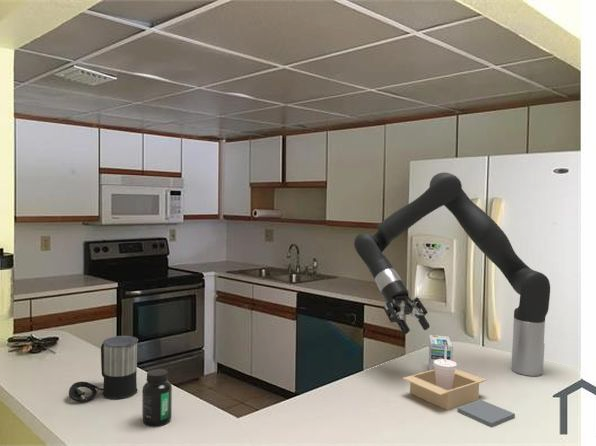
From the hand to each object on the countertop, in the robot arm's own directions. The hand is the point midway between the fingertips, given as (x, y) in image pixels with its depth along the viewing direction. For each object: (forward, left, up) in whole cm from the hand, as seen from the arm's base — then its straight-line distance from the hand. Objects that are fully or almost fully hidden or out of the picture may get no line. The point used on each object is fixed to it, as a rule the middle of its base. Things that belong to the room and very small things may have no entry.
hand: (417, 330), depth 146 cm
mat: (0, +24, -16) cm, 29 cm away
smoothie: (0, +10, -16) cm, 19 cm away
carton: (0, +10, -16) cm, 19 cm away
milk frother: (+80, -38, -16) cm, 90 cm away
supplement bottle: (+73, -17, -16) cm, 77 cm away
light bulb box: (-14, -3, -16) cm, 22 cm away
